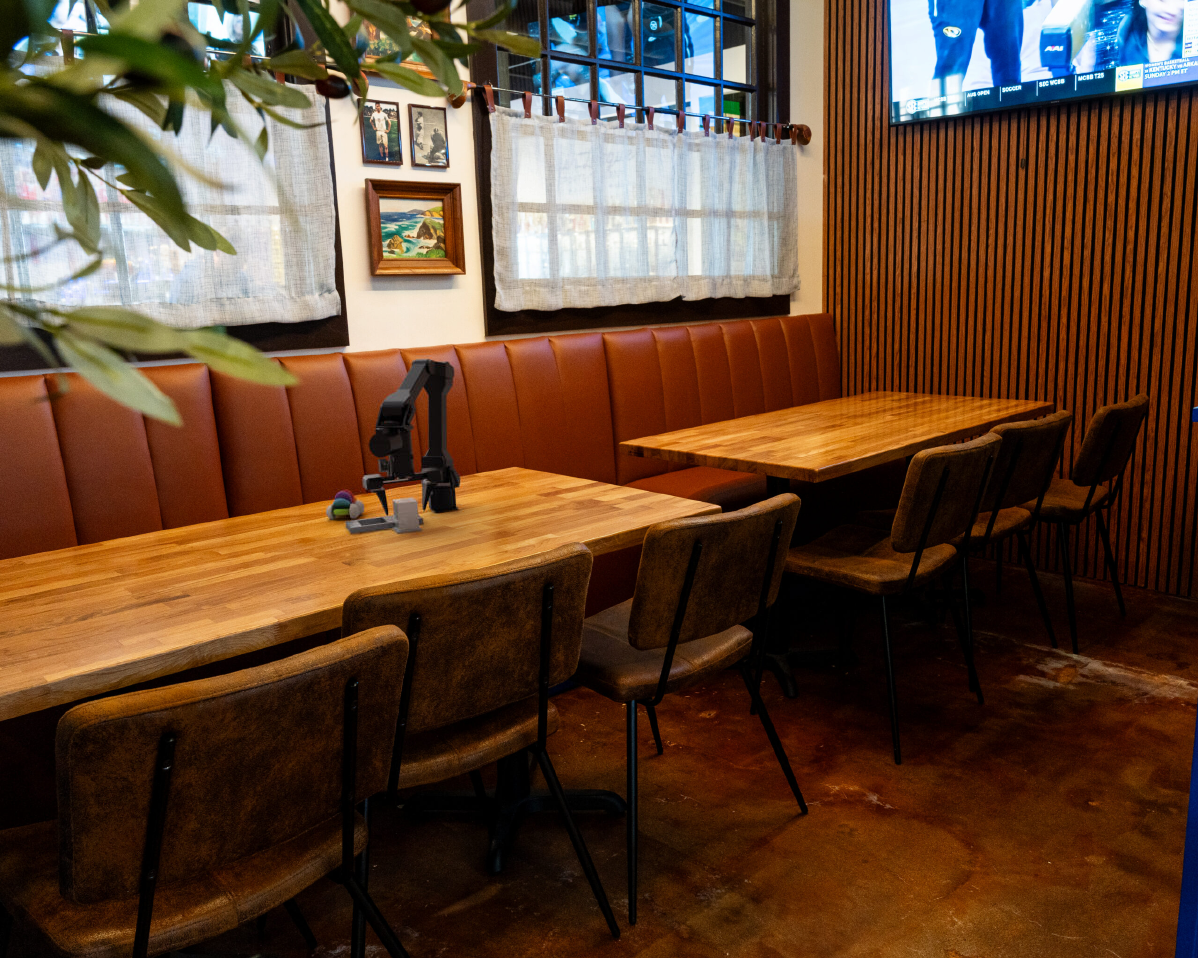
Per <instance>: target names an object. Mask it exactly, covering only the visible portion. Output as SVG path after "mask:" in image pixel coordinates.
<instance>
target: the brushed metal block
mask: <svg viewBox="0 0 1198 958" xmlns="http://www.w3.org/2000/svg"><path fill="white" fill-rule="evenodd" d="M392 507H393V509H392V510H393V511H392V512H393V515H394V523H395V528H396V529H397V530H398V531H407V530H414V529H419V527H420V525H419V516H420V515H419V505H418V500H417V499H415V498H414V497H406V498H405V497H403V498H398V499H397V498H396V499H392ZM418 515H419V516H418Z"/></svg>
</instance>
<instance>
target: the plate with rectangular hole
mask: <svg viewBox="0 0 1198 958" xmlns="http://www.w3.org/2000/svg"><path fill="white" fill-rule="evenodd" d="M418 516H419V526H420V525H424V518H423V517H422V516H421V515H419V514H418ZM344 524H345V529H347V531H348V532H349V533H350V534H351V535H352V534H353V535H355V534H359V533H360V534H361V533H367V532H374V531H381V530H382V531H383V530H390V529H392V527H395V523H394V514H392V515H385V516H378V517H370V518H362V519H352V520H348V521H345V523H344Z"/></svg>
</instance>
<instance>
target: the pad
mask: <svg viewBox="0 0 1198 958" xmlns="http://www.w3.org/2000/svg"><path fill="white" fill-rule="evenodd" d="M391 529H392V530H393V531H394V532H395V533H396V534H406V533H413V532H421V531H422V530H423V529H422V528H421V527H420V526H419V529H414V530H407V531H398V530H397V529H396V528H395V527H392V528H391Z"/></svg>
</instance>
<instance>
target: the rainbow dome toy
mask: <svg viewBox="0 0 1198 958" xmlns="http://www.w3.org/2000/svg"><path fill="white" fill-rule="evenodd" d="M325 509H326V510H325V514H326V516H327V518H328V519H330V520H336V518H337V516H338V517H340V516H346V515H348V516H350V518H351V520H356V519H357V518H358V516H360V515H363V513H364V512H365V505H364V503H363V501H361V500H357V497H356V496H355V495H354V494H353V492H352V491H351V490H349V489H343V490H341V491H339V492H337V493H336V494H335V496H334V500H333V503H332V504H329V506H327V507H326V508H325Z"/></svg>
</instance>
